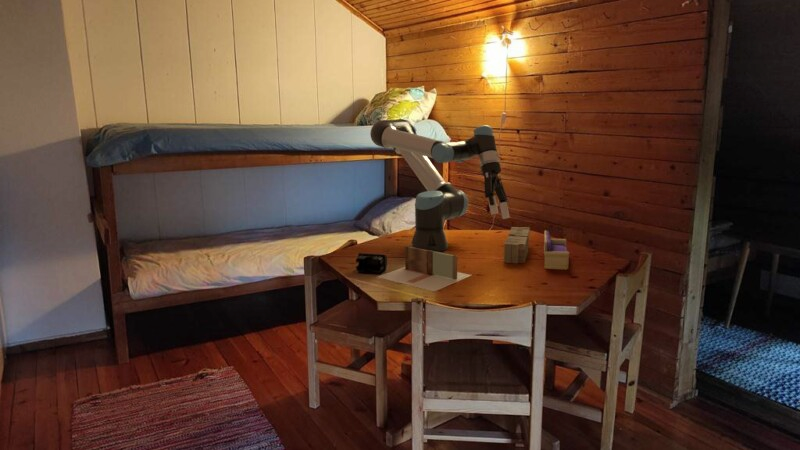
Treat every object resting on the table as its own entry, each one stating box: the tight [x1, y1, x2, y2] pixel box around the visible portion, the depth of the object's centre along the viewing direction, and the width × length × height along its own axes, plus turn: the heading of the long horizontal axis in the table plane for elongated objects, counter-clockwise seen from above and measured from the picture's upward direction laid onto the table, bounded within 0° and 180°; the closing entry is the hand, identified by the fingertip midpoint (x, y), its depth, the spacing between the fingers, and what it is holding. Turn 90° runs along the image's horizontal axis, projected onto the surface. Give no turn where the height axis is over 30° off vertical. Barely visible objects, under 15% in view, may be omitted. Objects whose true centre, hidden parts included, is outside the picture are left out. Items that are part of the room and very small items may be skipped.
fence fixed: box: [404, 245, 433, 275], centre depth 201 cm, size 12×2×8 cm, turn 50°
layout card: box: [377, 266, 472, 292], centre depth 197 cm, size 25×22×1 cm
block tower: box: [503, 226, 531, 264], centre depth 226 cm, size 8×8×29 cm
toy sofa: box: [543, 230, 570, 271], centre depth 213 cm, size 21×9×10 cm, turn 167°
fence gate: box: [433, 251, 458, 279], centre depth 194 cm, size 10×2×8 cm, turn 50°
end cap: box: [355, 252, 388, 276], centre depth 203 cm, size 10×7×7 cm
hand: (500, 216), depth 218 cm, fingers open, 13 cm apart
